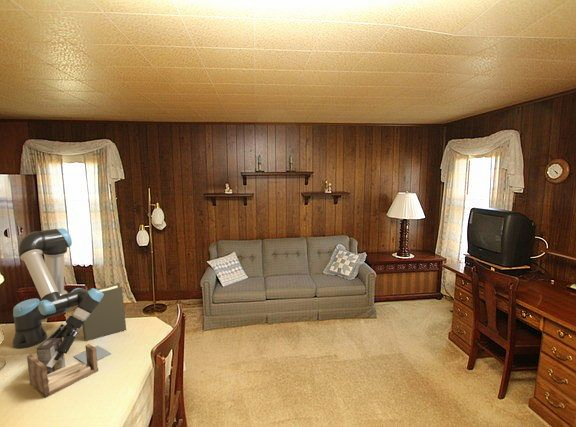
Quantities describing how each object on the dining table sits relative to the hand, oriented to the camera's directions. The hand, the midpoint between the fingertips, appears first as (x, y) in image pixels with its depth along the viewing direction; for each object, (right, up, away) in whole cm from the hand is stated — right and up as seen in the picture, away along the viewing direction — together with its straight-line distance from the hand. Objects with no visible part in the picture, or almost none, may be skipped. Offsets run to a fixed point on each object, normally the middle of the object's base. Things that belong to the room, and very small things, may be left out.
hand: (44, 362), depth 147 cm
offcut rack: (+9, -7, +1) cm, 12 cm away
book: (+4, -2, +42) cm, 42 cm away
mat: (+11, -5, +19) cm, 22 cm away
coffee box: (+2, -7, +4) cm, 8 cm away
